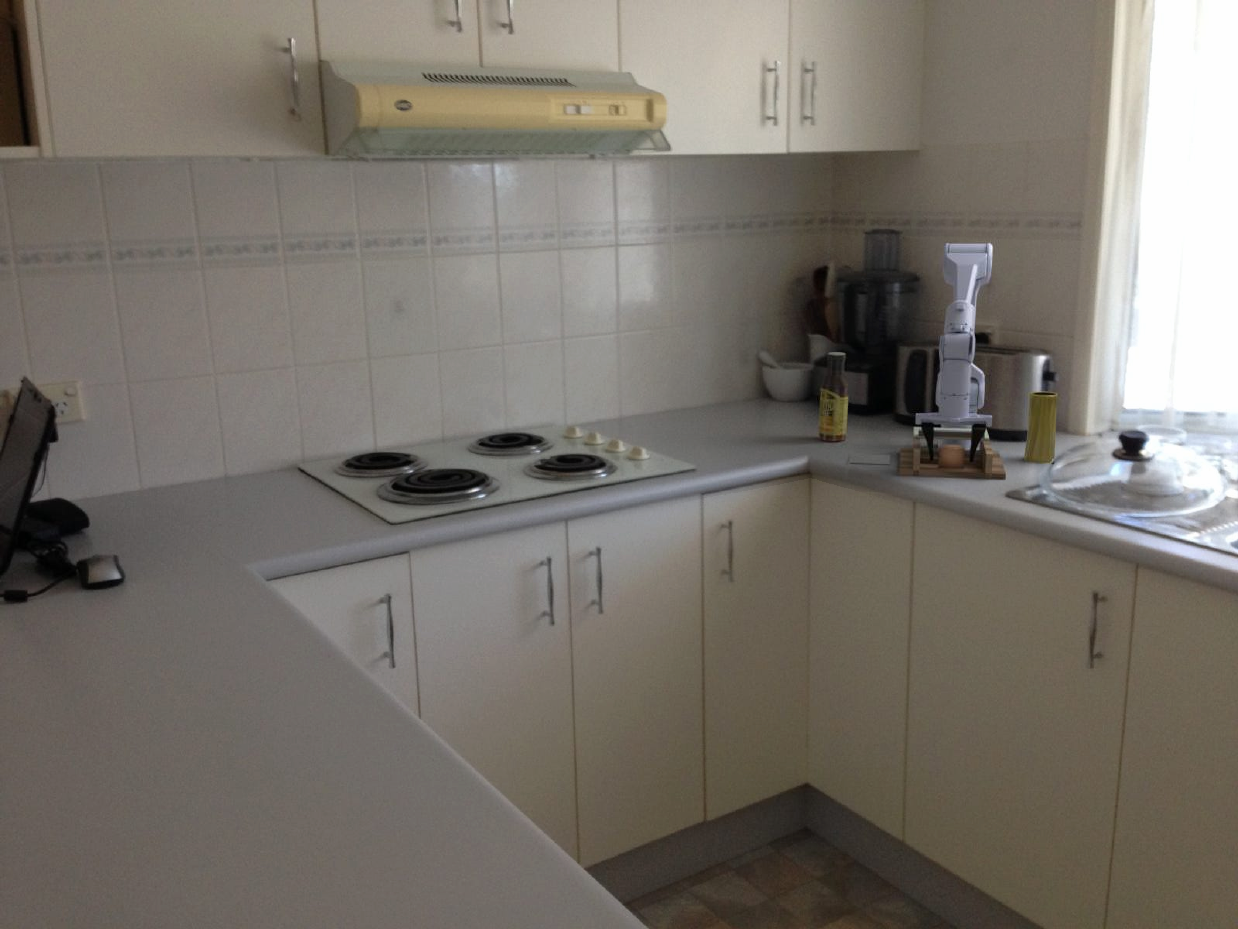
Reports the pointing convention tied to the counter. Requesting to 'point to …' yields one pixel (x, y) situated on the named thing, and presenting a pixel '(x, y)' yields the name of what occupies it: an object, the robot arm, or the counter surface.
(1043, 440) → the vase
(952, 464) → the tan rounded cylinder
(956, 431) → the cover
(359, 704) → the counter surface
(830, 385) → the sauce bottle
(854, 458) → the coaster
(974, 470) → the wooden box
